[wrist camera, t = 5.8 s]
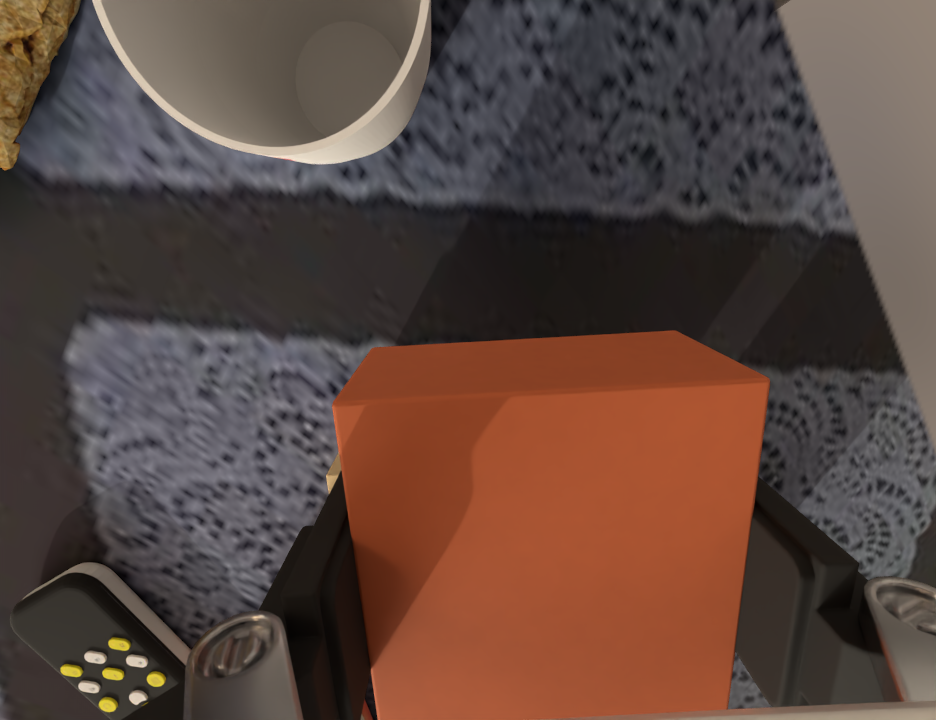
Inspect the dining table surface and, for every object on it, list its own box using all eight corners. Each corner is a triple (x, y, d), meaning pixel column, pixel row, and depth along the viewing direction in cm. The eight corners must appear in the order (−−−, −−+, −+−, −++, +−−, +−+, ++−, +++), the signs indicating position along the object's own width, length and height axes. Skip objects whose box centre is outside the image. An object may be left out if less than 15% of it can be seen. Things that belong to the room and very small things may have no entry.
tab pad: (370, 346, 11) (329, 403, 7) (676, 329, 11) (773, 377, 7) (412, 698, 14) (395, 850, 10) (651, 685, 14) (713, 835, 10)
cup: (220, 48, 20) (1, -108, 11) (378, -69, 19) (293, -360, 10) (331, 218, 22) (230, 216, 13) (479, 120, 21) (493, 38, 12)
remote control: (99, 548, 27) (71, 573, 25) (240, 692, 30) (225, 723, 28) (21, 595, 28) (-12, 622, 26) (166, 730, 31) (146, 763, 29)
